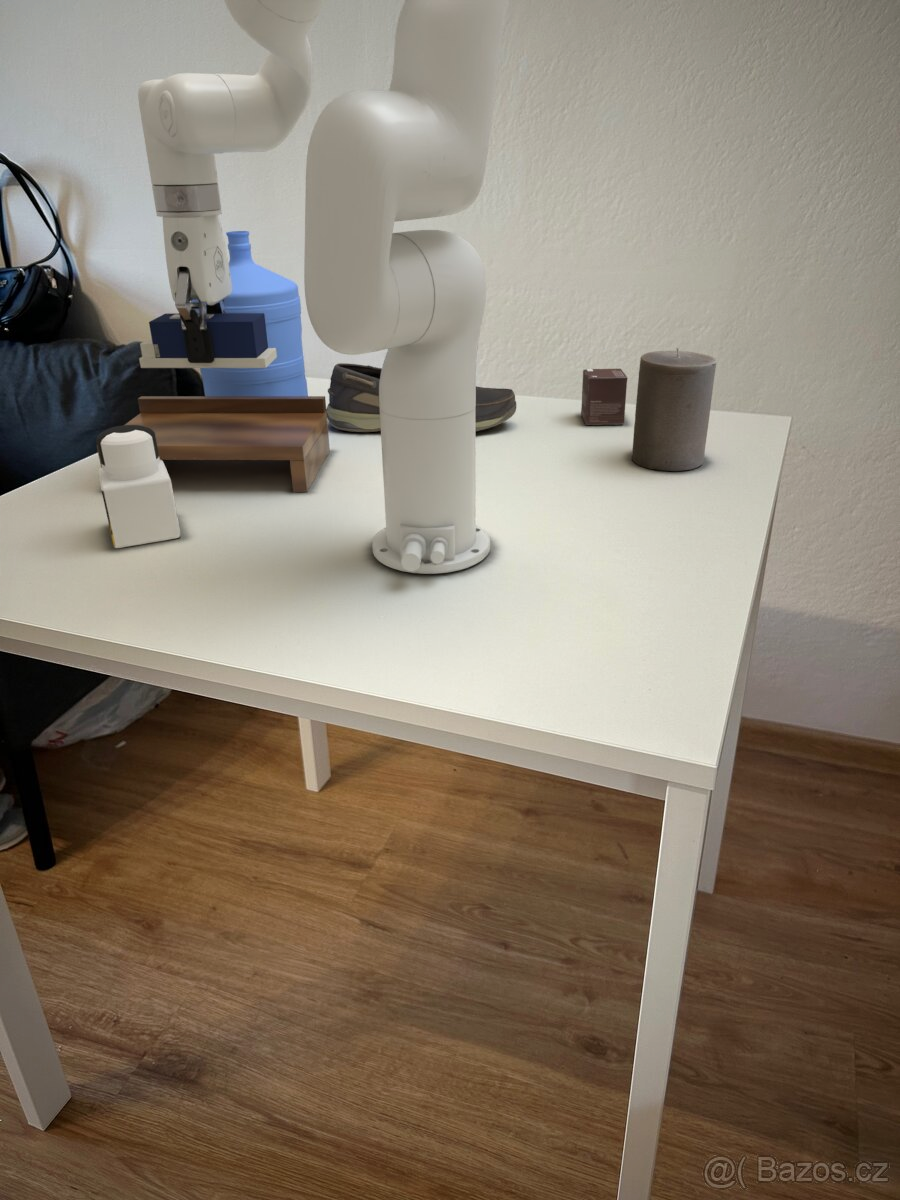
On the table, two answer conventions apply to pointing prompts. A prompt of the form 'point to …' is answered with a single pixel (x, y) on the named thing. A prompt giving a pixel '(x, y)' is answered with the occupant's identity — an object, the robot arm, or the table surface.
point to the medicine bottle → (135, 487)
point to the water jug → (283, 327)
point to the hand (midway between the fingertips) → (209, 354)
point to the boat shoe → (361, 410)
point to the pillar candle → (672, 409)
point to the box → (603, 396)
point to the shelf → (240, 430)
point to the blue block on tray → (232, 340)
